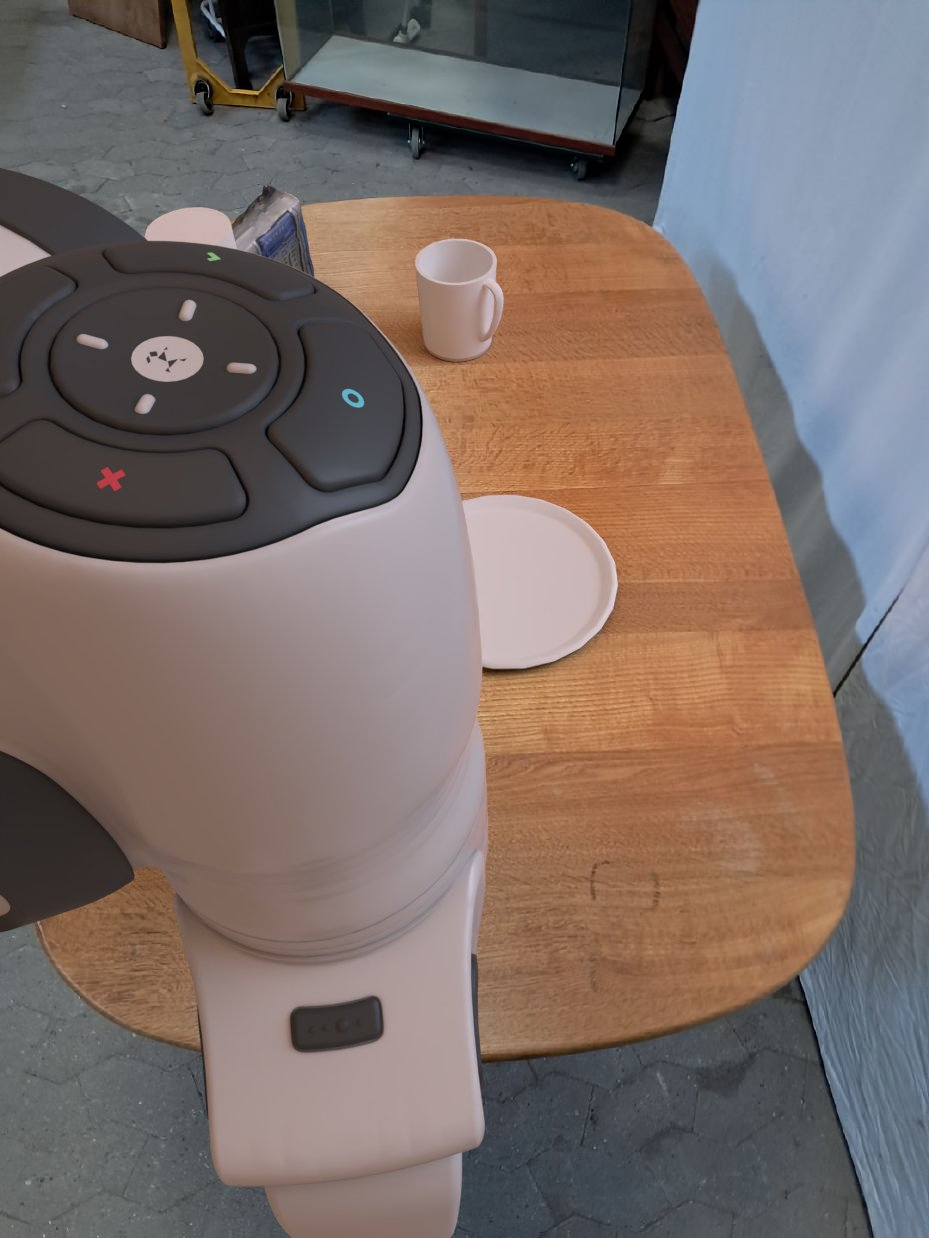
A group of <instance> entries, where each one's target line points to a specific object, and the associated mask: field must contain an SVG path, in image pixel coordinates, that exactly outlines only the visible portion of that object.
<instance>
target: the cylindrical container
mask: <svg viewBox="0 0 929 1238" xmlns="http://www.w3.org/2000/svg"><path fill="white" fill-rule="evenodd" d="M231 225H232V223H231V219H230V218H229V217H228V216H227V215H226V214H225V213H223V212H222V211H219V210H217V209H214V208H209V207H202V206H201V207H199V206H194V207H193V206H192V207H184V208H179V209H175V210H171V211H169V212H167V213H164V214H162V215H160V216H158V217H156V218H155V219H154V220H152V222H151V223H150V224H149V225H148V226H147V227H146V230H145V233H144V238H145V239H147V240H148V241H176V242H191V243H201V244H208V245H216V246H222V247H227V248H232V249H237V247H236V243H235V239H234V235H233V230H232V226H231Z"/></svg>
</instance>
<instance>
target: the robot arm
mask: <svg viewBox="0 0 929 1238" xmlns="http://www.w3.org/2000/svg"><path fill="white" fill-rule="evenodd" d="M462 501H463V498H462V495H461V492H460V487H459V482H458V479H457V476H456V472H455V468H454V464H453V461H452V458H451V455H450V452H449V449H448V446H447V443H446V440H445V437H444V435H443V431H442V429H441V426H440V423H439V421H438V418H437V415H436V414H435V412H434V410H433V407H432V405H431V403H430V401H429V399H428V397H427V394H426V393H425V391H424V389H423V387H422V385H421V383H420V381H419V380H418V378H417V377H416V375H415V373H414V371H413V370H412V368H411V367H410V365H409V364H408V363H407V360H406V359H405V358H404V357H403V355H402V353H400V351H399V350H398V349H397V347H396V346H395V345H394V344H393V343H392V341H391V340H390V339H389V338H388V337H387V336H386V335H385V334H384V332H383V331H382V330H381V329H380V328H379V326H377V324H376V323H375V322H374V321H373V320H371V318H370V317H369V316H368V315H366V313H365V312H364V311H363V310H362V309H361V308H359V307H358V306H357V305H356V304H355V303H354V302H353V301H351V300H349V299H348V298H347V297H345V296H344V295H343V294H342V293H340V292H338V291H337V290H336V289H335V288H333V287H331V286H329V285H328V284H326V283H324V282H323V281H321V280H319V279H318V278H317V277H315V276H314V277H312V276H310V275H308V274H306V273H304V272H302V271H300V270H298V269H296V268H293V267H291V266H289V265H286V264H284V263H281V262H279V261H276V260H273V259H270V258H267V257H264V256H261V255H257V254H253V253H249V252H245V251H242V250H237V249H232V248H227V247H222V246H216V245H208V244H201V243H191V242H176V241H148V240H147V239H146V238H145V236H143V234H141V233H139V231H137V230H136V229H135V228H133V227H132V226H131V225H129V224H128V223H127V222H125V221H124V220H123V219H121V218H120V217H118V216H117V215H115V214H114V213H112V212H111V211H109V210H108V209H106V208H105V207H103V206H101V205H99V204H97V203H95V202H94V201H92V200H91V199H88V198H86V197H84V196H82V195H80V194H77V193H75V192H73V191H71V190H68V189H66V188H64V187H63V186H62V187H61V186H59V185H57V184H54V183H52V182H49V181H46V180H43V179H41V178H38V177H35V176H32V175H29V174H25V173H21V172H18V171H14V170H10V169H6V168H4V167H3V168H2V167H0V933H5V932H9V931H13V930H16V929H19V928H22V927H25V926H28V925H32V924H35V923H38V922H40V921H43V920H47V919H50V918H52V917H55V916H58V915H61V914H64V913H67V912H70V911H73V910H77V909H79V908H82V907H85V906H87V905H90V904H93V903H95V902H97V901H99V900H103V899H104V898H106V897H108V896H110V895H112V894H113V893H115V892H117V891H119V890H121V889H123V887H125V886H127V885H129V884H131V883H132V882H133V881H135V872H136V871H137V870H140V869H141V868H152V869H155V870H159V871H160V873H161V874H162V876H163V878H164V879H165V881H166V882H167V883H168V884H169V886H170V887H171V888H172V889H173V891H174V892H175V893H174V894H173V896H172V905H173V911H174V916H175V920H176V923H177V927H178V931H179V936H180V939H181V942H182V945H183V949H184V952H185V956H186V959H187V963H188V967H189V970H190V975H191V979H192V983H193V989H194V994H195V998H196V999H195V1000H196V1010H197V1012H196V1013H197V1023H198V1031H199V1032H198V1034H199V1042H200V1052H201V1060H202V1061H201V1062H202V1075H203V1076H202V1077H203V1087H204V1099H205V1101H204V1102H205V1112H206V1116H207V1120H208V1131H209V1144H210V1145H209V1147H210V1155H211V1160H212V1163H213V1167H214V1171H215V1172H216V1175H217V1176H218V1178H219V1180H220V1181H221V1182H222V1183H223V1184H224V1185H226V1186H229V1187H236V1188H237V1187H240V1188H249V1187H250V1188H252V1187H253V1188H255V1187H257V1188H258V1187H259V1188H261V1187H264V1191H265V1194H266V1198H267V1200H268V1204H269V1206H270V1209H271V1211H272V1213H273V1215H274V1217H275V1219H276V1221H277V1223H278V1224H279V1226H280V1227H281V1228H282V1229H283V1231H284V1232H285V1233H286V1234H287V1235H288V1236H289V1237H290V1238H451V1237H453V1235H454V1233H455V1230H456V1227H457V1224H458V1220H459V1214H460V1205H461V1197H462V1184H463V1153H466V1152H469V1151H471V1150H475V1149H477V1148H478V1147H480V1145H481V1144H482V1142H483V1139H484V1136H485V1131H486V1123H485V1122H486V1121H485V1113H484V1107H483V1106H484V1105H483V1099H482V1092H483V1091H484V1090H485V1080H484V1072H483V1071H484V1070H483V1064H482V1051H481V1049H482V1048H481V1040H480V1025H479V965H478V964H479V963H478V955H477V949H478V941H479V934H480V928H481V922H482V916H483V909H484V902H485V895H486V885H487V883H486V881H487V878H486V865H487V859H488V851H489V818H488V817H489V816H488V815H489V814H488V792H487V791H488V788H487V759H486V751H485V742H484V741H485V740H484V736H483V732H482V729H481V726H480V725H481V724H480V721H479V717H478V711H479V707H480V703H481V693H482V683H483V667H482V646H481V633H480V619H479V606H478V594H477V585H476V577H475V569H474V562H473V557H472V551H471V545H470V539H469V533H468V528H467V523H466V518H465V513H464V508H463V504H462Z"/></svg>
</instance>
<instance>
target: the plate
mask: <svg viewBox="0 0 929 1238" xmlns="http://www.w3.org/2000/svg"><path fill="white" fill-rule="evenodd" d="M462 504H463V508H464V513H465V518H466V523H467V528H468V533H469V539H470V545H471V551H472V557H473V562H474V569H475V577H476V585H477V594H478V606H479V619H480V633H481V646H482V669H487V670H491V671H492V670H493V671H494V670H495V671H496V670H499V671H500V670H503V671H504V670H527V669H532V668H536V667H541V666H544V665H548V664H552V663H556V662H558V661H559V660H562V659H564V658H565V657H567V656H569V655H571V654H574V653H575V652H577V651H579V650H581V649H582V648H583V647H585V645H586V644H587V643H589V642H590V641H591V640H592V639H593V638H594V637H595V636H596V635H597V634H599V633H600V632H601V630H602V629H603V627H604V625H605V624H606V622H607V620H608V618H609V617H610V615H611V614H612V612H613V611H614V607H615V601H616V597H617V593H618V587H619V582H618V576H617V575H618V574H617V567H616V562H615V560H614V558H613V555H612V554H611V552H610V549H609V547H608V546H607V544H606V541H605V540H604V539H603V538H602V537H601V536H600V535H599V533H598V532H597V531H595V529H594V528H593V527H592V526H591V525H590V524H589V522H587V521H585V520H584V519H582V518H580V517H579V516H578V515H576V514H575V513H573V512H571V511H570V510H568V509H567V508H564V507H562V506H559V505H557V504H554V503H552V502H550V501H547V500H544V499H541V498H536V497H530V496H524V495H519V494H488V495H483V496H478V497H473V498H467V499H462Z"/></svg>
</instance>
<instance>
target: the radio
mask: <svg viewBox="0 0 929 1238" xmlns="http://www.w3.org/2000/svg"><path fill="white" fill-rule="evenodd" d="M231 226H232V230H233V235H234V239H235V243H236V247H237V250H242V251H245V252H249V253H253V254H257V255H261V256H264V257H267V258H270V259H273V260H276V261H279V262H281V263H284V264H286V265H289V266H291V267H293V268H296V269H298V270H300V271H302V272H304V273H306V274H308V275H310V276H312V277H314V278H315V267H314V264H313V259H312V257H311V253H310V245H309V241H308V240H309V239H308V232H307V227H306V223H305V221H304V215H303V211H302V204H301V201H300V200H299V199H298V197H296V196H294V195H293V194H291V193H288V192H284V191H283V190H280V189H277V188H276V187H274V186H272V185H266V184H265V185H263V186H262V193H261V194H260V195H258V196H257V197H256V198H255V199H254V200H253V201H252V202H251V203H250V204H249V205H248V207H246V210H244V212H242V213H241V214H240V215H238V216H236V218H235V220H234V222H233V223H231Z"/></svg>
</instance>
